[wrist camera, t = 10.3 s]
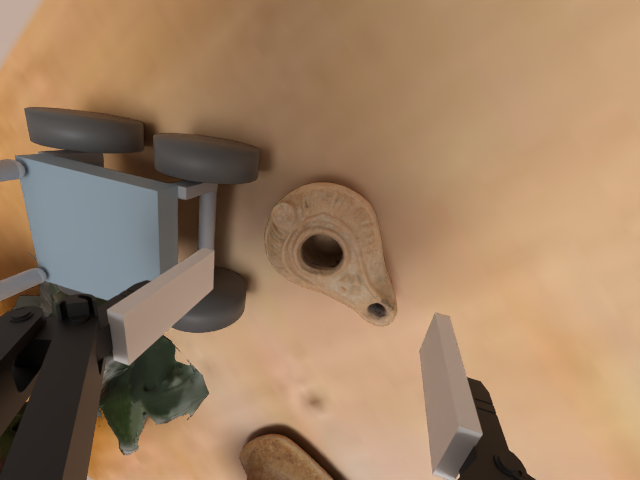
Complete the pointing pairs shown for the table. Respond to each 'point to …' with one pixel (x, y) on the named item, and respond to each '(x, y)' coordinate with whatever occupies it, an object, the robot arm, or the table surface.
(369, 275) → the pottery oil lamp
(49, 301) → the rose bouquet
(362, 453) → the table surface
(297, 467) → the stone cup
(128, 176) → the dolly
